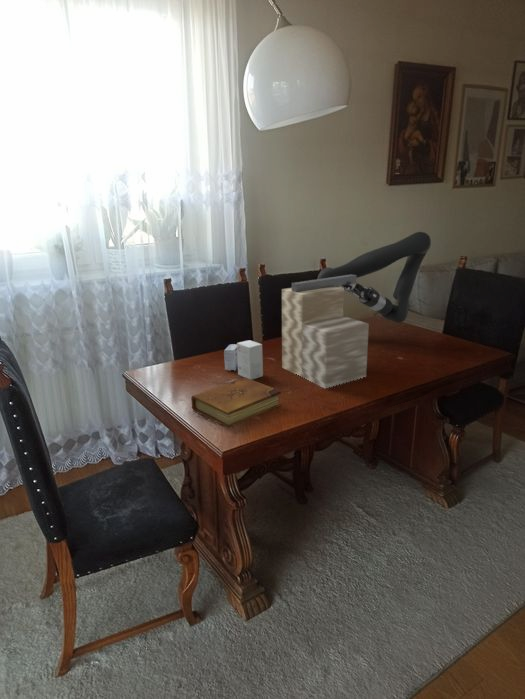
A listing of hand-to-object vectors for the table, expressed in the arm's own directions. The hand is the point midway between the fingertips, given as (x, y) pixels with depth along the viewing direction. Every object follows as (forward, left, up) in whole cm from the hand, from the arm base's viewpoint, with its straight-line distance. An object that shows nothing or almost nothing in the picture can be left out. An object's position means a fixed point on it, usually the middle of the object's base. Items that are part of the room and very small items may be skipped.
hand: (348, 283), depth 202 cm
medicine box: (-19, -44, -32) cm, 58 cm away
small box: (-7, -43, -32) cm, 54 cm away
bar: (0, -12, 0) cm, 12 cm away
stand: (+7, -18, -32) cm, 37 cm away
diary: (+15, -62, -32) cm, 72 cm away
